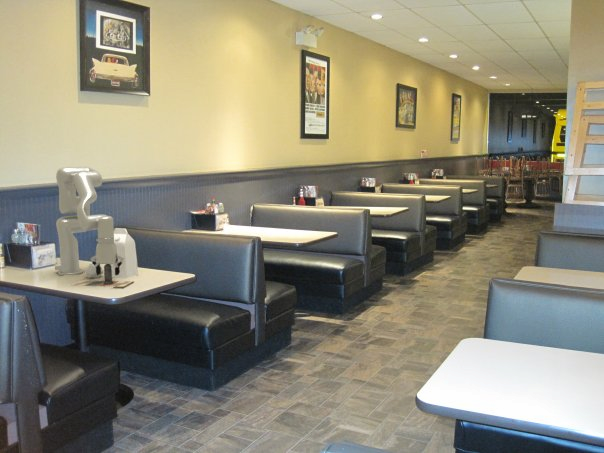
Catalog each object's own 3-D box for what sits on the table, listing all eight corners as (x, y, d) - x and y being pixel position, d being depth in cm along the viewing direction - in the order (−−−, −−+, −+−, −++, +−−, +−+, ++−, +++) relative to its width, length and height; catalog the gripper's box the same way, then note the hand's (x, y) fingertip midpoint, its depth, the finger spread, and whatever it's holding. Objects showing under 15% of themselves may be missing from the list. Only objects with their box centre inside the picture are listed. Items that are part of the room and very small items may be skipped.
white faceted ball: (92, 282, 310) (103, 266, 312) (79, 273, 311) (90, 258, 313) (98, 284, 318) (108, 269, 320) (84, 276, 319) (95, 261, 321)
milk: (138, 275, 324) (136, 227, 321) (126, 279, 313) (124, 230, 310) (118, 274, 328) (116, 227, 324) (106, 278, 317) (104, 229, 313)
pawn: (101, 284, 298) (100, 264, 297) (106, 282, 303) (105, 262, 302) (110, 284, 298) (110, 264, 297) (115, 282, 303) (114, 263, 301)
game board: (69, 287, 297) (69, 285, 296) (82, 281, 309) (82, 280, 309) (123, 288, 293) (123, 286, 293) (133, 282, 306) (133, 281, 306)
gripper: (86, 241, 295) (88, 275, 298) (119, 242, 293) (121, 276, 295) (93, 239, 303) (95, 272, 305) (126, 240, 300) (127, 273, 303)
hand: (108, 274), depth 300 cm, fingers open, 9 cm apart
